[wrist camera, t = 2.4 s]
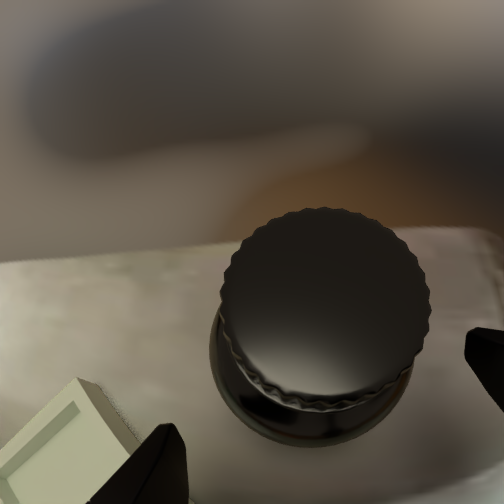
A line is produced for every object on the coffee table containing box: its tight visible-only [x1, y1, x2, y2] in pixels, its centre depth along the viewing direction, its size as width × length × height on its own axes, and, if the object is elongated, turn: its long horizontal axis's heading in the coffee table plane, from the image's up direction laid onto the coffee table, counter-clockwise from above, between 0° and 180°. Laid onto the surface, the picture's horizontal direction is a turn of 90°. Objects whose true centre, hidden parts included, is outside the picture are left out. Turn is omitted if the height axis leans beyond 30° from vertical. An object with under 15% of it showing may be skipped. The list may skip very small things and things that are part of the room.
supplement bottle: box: [209, 207, 432, 448], centre depth 12 cm, size 7×7×12 cm
